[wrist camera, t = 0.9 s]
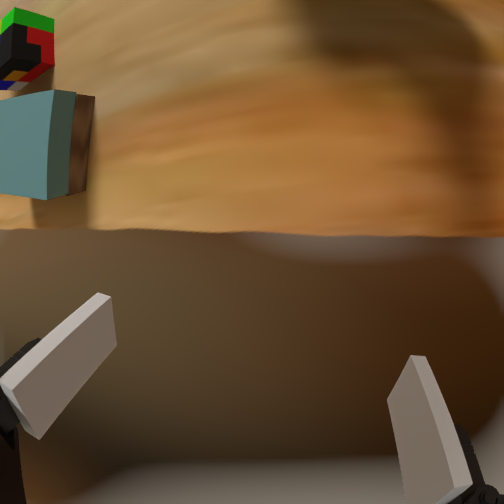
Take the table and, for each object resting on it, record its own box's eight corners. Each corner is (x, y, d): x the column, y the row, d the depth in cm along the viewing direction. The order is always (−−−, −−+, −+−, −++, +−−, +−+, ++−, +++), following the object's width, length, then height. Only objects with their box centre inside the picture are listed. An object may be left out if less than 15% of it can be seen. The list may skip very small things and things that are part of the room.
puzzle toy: (19, 90, 36) (-23, 89, 27) (19, 46, 33) (-20, 41, 24) (54, 64, 34) (10, 57, 24) (54, 19, 31) (14, 7, 22)
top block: (17, 101, 32) (-3, 101, 28) (76, 92, 31) (54, 89, 27) (12, 186, 37) (-7, 191, 33) (68, 193, 36) (46, 200, 32)
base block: (37, 101, 37) (18, 101, 32) (96, 96, 35) (77, 94, 31) (31, 182, 41) (12, 186, 37) (87, 190, 40) (68, 195, 36)
